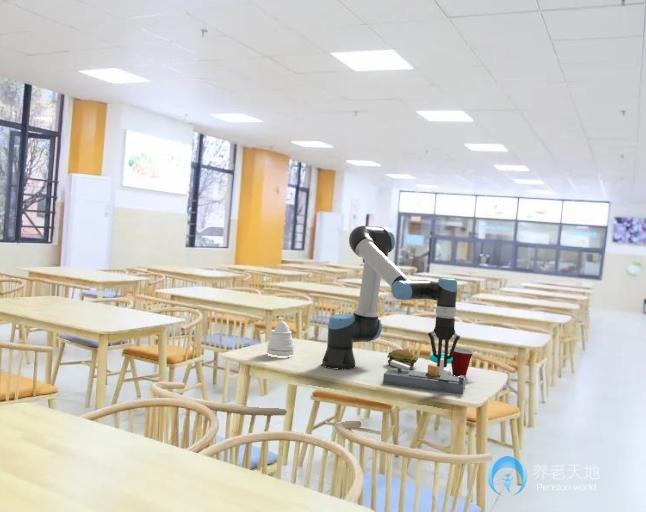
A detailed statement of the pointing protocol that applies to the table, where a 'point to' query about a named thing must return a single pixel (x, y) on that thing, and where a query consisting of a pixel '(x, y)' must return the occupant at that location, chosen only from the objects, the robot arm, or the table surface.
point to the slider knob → (446, 374)
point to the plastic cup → (460, 361)
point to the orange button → (433, 370)
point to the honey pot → (281, 340)
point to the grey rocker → (400, 365)
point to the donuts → (441, 357)
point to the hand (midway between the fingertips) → (441, 374)
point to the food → (402, 357)
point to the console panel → (424, 381)
